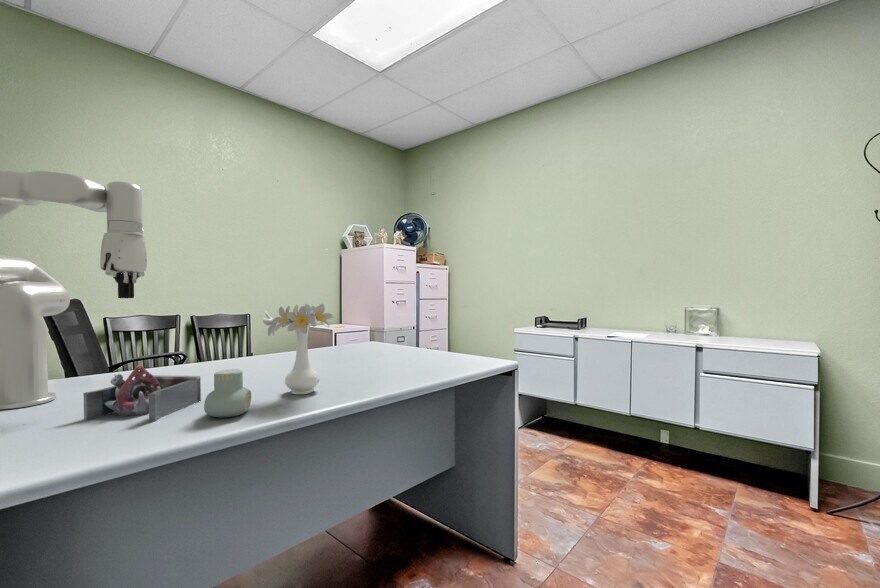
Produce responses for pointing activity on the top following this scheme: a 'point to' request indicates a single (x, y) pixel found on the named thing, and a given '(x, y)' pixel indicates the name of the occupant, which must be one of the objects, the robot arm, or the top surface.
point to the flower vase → (300, 343)
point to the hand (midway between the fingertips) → (126, 298)
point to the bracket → (150, 397)
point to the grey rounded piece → (228, 395)
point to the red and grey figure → (133, 392)
